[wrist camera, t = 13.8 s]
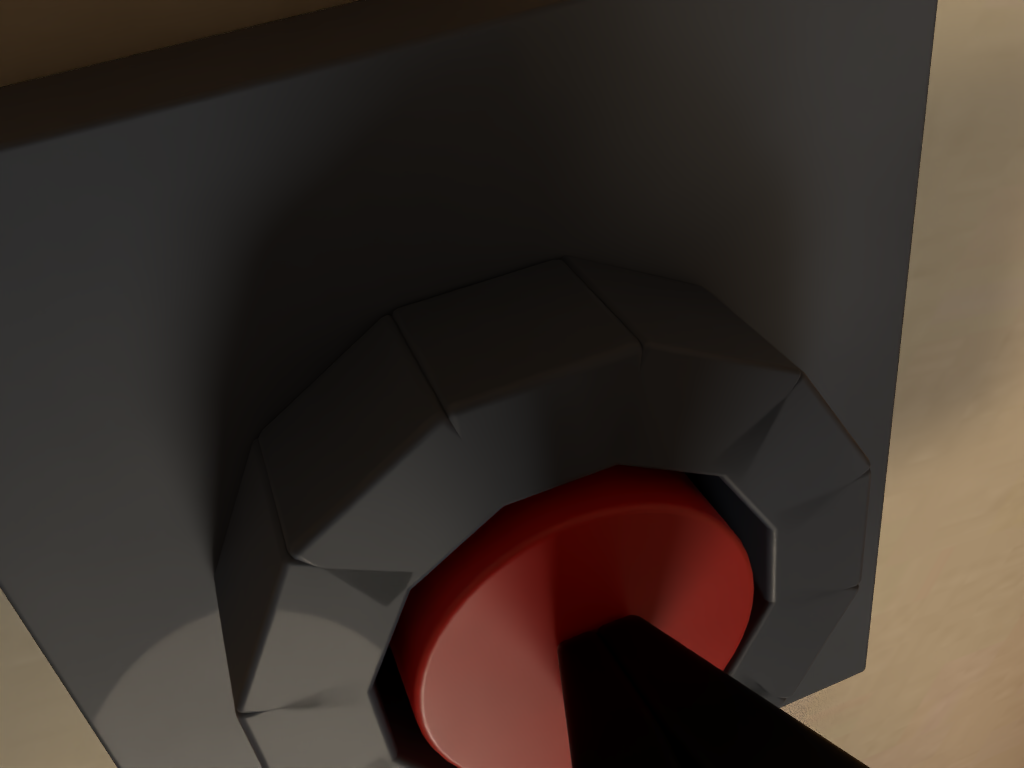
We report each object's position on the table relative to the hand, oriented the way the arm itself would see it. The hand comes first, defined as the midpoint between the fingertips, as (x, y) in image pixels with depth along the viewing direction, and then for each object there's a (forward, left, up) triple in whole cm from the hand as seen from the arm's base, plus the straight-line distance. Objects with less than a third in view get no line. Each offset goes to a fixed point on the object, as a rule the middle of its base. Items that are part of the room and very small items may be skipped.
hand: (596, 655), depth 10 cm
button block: (0, 0, -4) cm, 4 cm away
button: (0, 0, -2) cm, 2 cm away
